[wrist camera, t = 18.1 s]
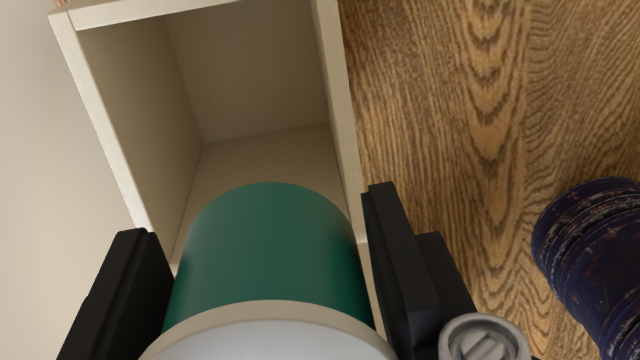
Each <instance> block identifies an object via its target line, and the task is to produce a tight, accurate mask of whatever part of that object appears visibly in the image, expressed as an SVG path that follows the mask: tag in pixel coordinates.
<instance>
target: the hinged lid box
mask: <svg viewBox="0 0 640 360" xmlns="http://www.w3.org/2000/svg"><path fill="white" fill-rule="evenodd" d="M47 15H48V18H49V21H50V23H51V26H52V28H53V30H54V33H55V35H56V37H57V40H58V42H59V45H60V47H61V49H62V52H63V54H64V57H65V59H66V61H67V64H68V66H69V69H70V71H71V73H72V75H73V78H74V80H75V83H76V85H77V88H78V90H79V92H80V95H81V97H82V100H83V102H84V104H85V107H86V109H87V112H88V114H89V116H90V119H91V121H92V124H93V126H94V128H95V131H96V133H97V135H98V138H99V140H100V143H101V145H102V147H103V150H104V152H105V154H106V157H107V159H108V162H109V164H110V166H111V169H112V171H113V174H114V176H115V178H116V181H117V183H118V185H119V188H120V190H121V193H122V195H123V198H124V200H125V202H126V205H127V207H128V210H129V212H130V214H131V217H132V219H133V221H134V224H135V226H136V228H140V227H144V228H146V229H147V230H148V232H155V233H156V235H157V237H158V239H159V241H160V244H161V246H162V249H163V251H164V254H165V256H166V259H167V261H168V264H169V266H170V269H171V271H172V273H173V276H176V274H177V270H178V266H179V262H180V258H181V255H182V251H183V247H184V243H185V239H186V236H187V233H188V230H189V228H190V226H191V224H192V222H193V220H194V219H195V218H196V216H197V215H198V214H199V212H200V211H201V210H202V209H203V208H204V207H205V206H206V205H207V204H209V203H210V202H211V201H213V200H214V199H215V198H217V197H219V196H220V195H222V194H224V193H226V192H228V191H230V190H232V189H235V188H237V187H241V186H244V185H248V184H253V183H260V182H283V183H289V184H295V185H299V186H302V187H305V188H308V189H310V190H313V191H315V192H317V193H319V194H321V195H322V196H324V197H326V198H327V199H329V200H330V201H331V202H332V203H334V204H335V205H336V206H337V207H338V208H339V209H340V210H341V211H342V212H343V213H344V215H345V216H346V218H347V219H348V221H349V222H350V224H351V226H352V229H353V231H354V234H355V238H356V242H357V244H359V243H365V242H368V241H367V235H366V228H365V222H364V215H363V209H362V203H361V195H360V193H364V188H363V181H362V174H361V166H360V159H359V152H358V145H357V138H356V131H355V124H354V117H353V110H352V102H351V95H350V88H349V81H348V74H347V67H346V60H345V53H344V46H343V38H342V31H341V24H340V17H339V10H338V3H337V0H71V1H69V2H68V3H66V4H64V5H62V6H60V7H58V8H57V9H55V10H53V11H51V12H49V13H48V14H47Z"/></svg>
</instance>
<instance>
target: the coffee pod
mask: <svg viewBox="0 0 640 360" xmlns="http://www.w3.org/2000/svg"><path fill="white" fill-rule="evenodd" d="M138 360H399V358H398V356H397V354H396V353H395V352H394V350H393V349H392V348H391V346H390V345H389V344H388V343H387V342H386V341H385V340H384V339H383V338H382V337H381V336H380V335H379V334H378V333H377V330H376V326H375V321H374V317H373V313H372V308H371V304H370V299H369V295H368V290H367V286H366V282H365V277H364V273H363V268H362V264H361V259H360V255H359V250H358V246H357V242H356V238H355V234H354V231H353V229H352V226H351V224H350V222H349V221H348V219H347V218H346V216H345V215H344V213H343V212H342V211H341V210H340V209H339V208H338V207H337V206H336V205H335V204H334V203H332V202H331V201H330V200H329V199H327V198H326V197H324V196H322V195H321V194H319V193H317V192H315V191H313V190H310V189H308V188H305V187H302V186H299V185H295V184H289V183H283V182H260V183H253V184H248V185H244V186H241V187H237V188H235V189H232V190H230V191H228V192H226V193H224V194H222V195H220V196H219V197H217V198H215V199H214V200H213V201H211V202H210V203H209V204H207V205H206V206H205V207H204V208H203V209H202V210H201V211H200V212H199V214H198V215H197V216H196V218H195V219H194V220H193V222H192V224H191V226H190V228H189V230H188V233H187V236H186V239H185V243H184V247H183V251H182V255H181V258H180V262H179V266H178V270H177V274H176V278H175V282H174V285H173V289H172V293H171V297H170V301H169V305H168V308H167V312H166V316H165V320H164V324H163V328H162V331H161V335H160V336H159V337H158V338H157V339H156V340H155V341H154V342H153V343H152V344H151V345H150V346H149V347H148V348H147V349H146V350H145V352H144V353H143V354H142V355H141V357H140V358H139V359H138Z"/></svg>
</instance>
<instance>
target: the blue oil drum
mask: <svg viewBox="0 0 640 360" xmlns="http://www.w3.org/2000/svg"><path fill="white" fill-rule="evenodd" d="M531 253H532V256H533V259H534V261H535V263H536V265H537V266H538V268H539V269H540V270H541V271H542V272H543V274H544V276H545V277H546V279H547V282H548V284H549V286H550V288H551V289H552V290H553V292H554V294H555V295H556V296H557V298H558V299H559V300H560V301H561V302H562V303H563V304H564V306H565V308H566V309H567V310H568V312H569V313H570V314H571V316H572V317H573V318H574V319H575V320H576V321H578V322H579V323H580V324H582V325H583V326H584V328H585V329H586V331H587V332H588V334H589V335H590V336H591V338H592V339H593V341H594V342H595V343H596V345H597V346H598V348H599V351H600V356H601V358H602V360H640V183H639V182H638V181H635V180H632V179H630V178H624V177H602V178H597V179H593V180H589V181H586V182H584V183H581V184H579V185H577V186H575V187H573V188H571V189H569V190H567V191H566V192H565V193H563V194H562V195H560V196H559V197H558V198H556V199H555V200H554V201H553V202H552V203H551V204H550V205H549V206H548V207H547V208H546V209H545V210H544V212H543V213H542V215H541V216H540V218H539V219H538V221H537V223H536V225H535V227H534V230H533V233H532V236H531Z"/></svg>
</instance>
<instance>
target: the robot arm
mask: <svg viewBox="0 0 640 360" xmlns="http://www.w3.org/2000/svg"><path fill="white" fill-rule="evenodd" d="M368 188H369V192H365V193H360V195H361V203H362V209H363V215H364V222H365V228H366V235H367V241H368V248H369V254H370V261H371V267H372V274H373V280H374V286H375V292H376V296H377V301H378V305H379V309H380V313H381V317H382V321H383V325H384V330H385V334H386V338H387V342H388V344H389V345H390V346H391V348H392V349H393V350H394V352H395V353H396V354H397V356H398V358H399V360H540V359H538V358H535V357H533V356H531V354H530V350H529V345H528V343H527V340H526V338H525V335H524V334H523V333H522V332H521V330H520V329H519V328H518V327H517V326H516V325H515V324H513V323H512V322H510V321H508V320H507V319H505V318H503V317H500V316H497V315H494V314H490V313H481V312H478V311H477V309H476V307H475V305H474V303H473V301H472V299H471V296H470V294H469V292H468V290H467V288H466V286H465V284H464V282H463V279H462V277H461V275H460V273H459V271H458V269H457V267H456V265H455V263H454V260H453V258H452V256H451V254H450V252H449V250H448V248H447V246H446V244H445V241H444V239H443V237H442V235H441V234H440V232H438V231H435V232H429V233H424V234H418V235H414V234H413V232H412V229H411V227H410V224H409V222H408V219H407V217H406V214H405V211H404V209H403V206H402V204H401V201H400V199H399V196H398V194H397V191H396V189H395V186H394V184H393V182H392V181H390V182H384V183H379V184H374V185H369V186H368ZM174 282H175V278H174V276H173V273H172V271H171V269H170V266H169V264H168V261H167V259H166V256H165V254H164V251H163V249H162V246H161V244H160V241H159V239H158V237H157V235H156V233H155V232H148V230H147V229H146V228H144V227H140V228H135V229H129V230H125V231H119V232H118V233H117V234H116V236H115V238H114V240H113V242H112V244H111V247H110V249H109V251H108V253H107V255H106V257H105V260H104V262H103V264H102V266H101V268H100V270H99V273H98V275H97V277H96V279H95V281H94V283H93V285H92V288H91V290H90V292H89V294H88V296H87V297H86V298H85V300H84V301H83V303H82V305H81V307H80V310H79V312H78V314H77V316H76V318H75V320H74V322H73V324H72V327H71V329H70V331H69V333H68V335H67V337H66V339H65V342H64V344H63V346H62V348H61V350H60V352H59V354H58V357H57V359H56V360H138V359H139V358H140V357H141V355H142V354H143V353H144V352H145V350H146V349H147V348H148V347H149V346H150V345H151V344H152V343H153V342H154V341H155V340H156V339H157V338H158V337H159V336H160V335H161V331H162V328H163V324H164V320H165V316H166V312H167V308H168V305H169V301H170V297H171V293H172V289H173V285H174Z"/></svg>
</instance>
